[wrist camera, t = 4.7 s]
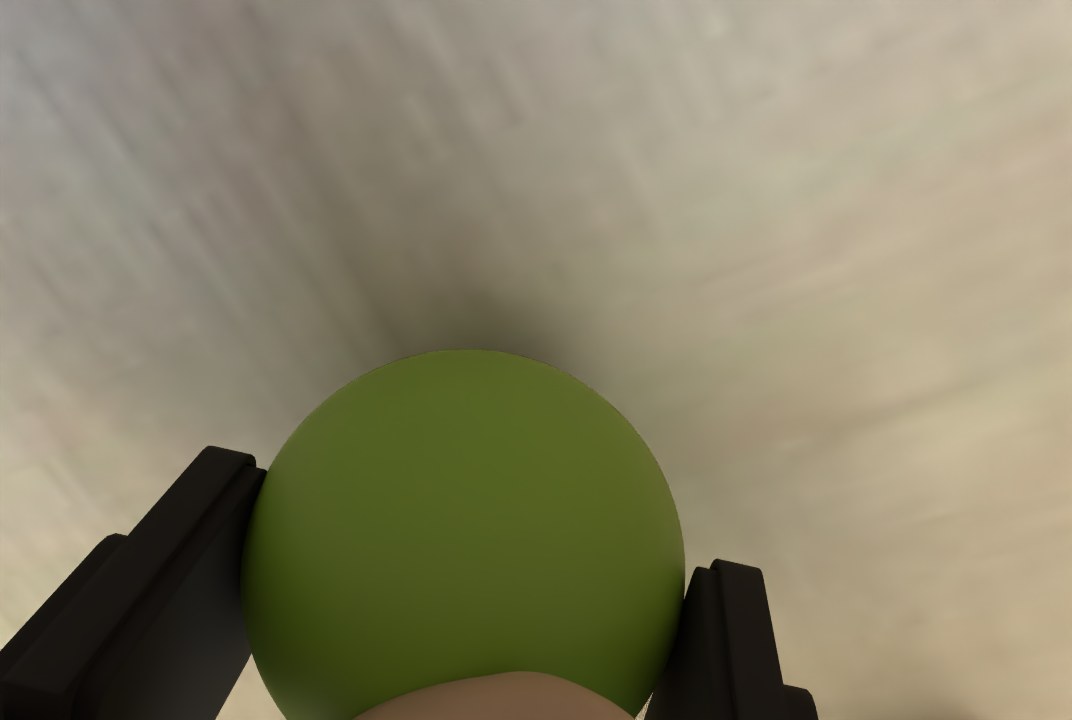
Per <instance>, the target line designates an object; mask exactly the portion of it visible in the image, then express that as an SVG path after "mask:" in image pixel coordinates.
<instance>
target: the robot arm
mask: <svg viewBox="0 0 1072 720" xmlns="http://www.w3.org/2000/svg"><path fill="white" fill-rule="evenodd" d="M266 474H267V471H266V470H265V469H261V468H256V460H255V457H254V456H253V455H251V454H247V453H242V452H238V451H233V450H229V449H224V448H220V447H215V446H207V447H206V448H205V449H203V450H202V451H201V453H200V454H199V455H198V456H197V457H196V458H195V459H194V461H193V462H192V463H191V464H190V465H189V466H188V467H187V469H186V470H185V471H184V472H183V473H182V474H181V475H180V476H179V478H178V479H177V480H176V481H175V482H174V483H173V484H172V486H171V487H170V488H169V489H168V490H167V491H166V492H165V494H164V495H163V496H162V497H161V498H160V499H159V500H158V502H157V503H156V504H155V505H154V506H153V507H152V508H151V510H150V511H149V512H148V513H147V514H146V515H145V516H144V518H143V519H142V520H141V521H140V522H139V523H138V524H137V525H136V527H135V528H134V529H133V530H132V531H131V532H130V533H129V535H128V536H126V535H122V534H117V533H115V534H112V535H109V536H107V537H106V538H105V539H103V540H102V541H101V542H100V543H99V544H98V545H97V546H96V547H95V548H94V549H93V550H92V551H91V552H90V553H89V555H88V556H87V557H86V558H85V559H84V560H83V561H82V562H81V563H80V564H79V566H78V567H77V568H76V569H75V570H74V571H73V572H72V573H71V574H70V575H69V576H68V578H67V579H66V580H65V581H64V582H63V583H62V584H61V585H60V586H59V587H58V588H57V590H56V591H55V592H54V593H53V594H52V595H51V596H50V597H49V598H48V599H47V600H46V602H45V603H44V604H43V605H42V606H41V607H40V608H39V609H38V610H37V611H36V613H35V614H34V615H33V616H32V617H31V618H30V619H29V620H28V621H27V622H26V623H25V625H24V626H23V627H22V628H21V629H20V630H19V631H18V632H17V633H16V634H15V635H14V637H13V638H12V639H11V640H10V641H9V642H8V643H7V644H6V645H5V646H4V648H3V649H2V650H1V651H0V720H215V719H216V717H217V715H218V714H219V712H220V710H221V708H222V706H223V705H224V703H225V701H226V699H227V697H228V696H229V694H230V692H231V690H232V688H233V687H234V685H235V683H236V681H237V679H238V678H239V676H240V674H241V672H242V670H243V669H244V667H245V665H246V663H247V661H248V659H249V657H250V655H251V653H252V652H251V649H250V645H249V642H248V638H247V634H246V630H245V625H244V619H243V613H242V604H241V587H240V573H241V559H242V551H243V546H244V540H245V536H246V531H247V527H248V523H249V519H250V516H251V512H252V509H253V506H254V503H255V500H256V497H257V495H258V492H259V490H260V487H261V485H262V482H263V480H264V478H265V476H266ZM644 720H818V715H817V711H816V706H815V703H814V700H813V697H812V695H811V694H810V693H809V691H808V690H807V689H803V688H798V687H794V686H789V685H785V684H783V680H782V675H781V670H780V664H779V659H778V654H777V648H776V643H775V638H774V632H773V627H772V622H771V616H770V611H769V606H768V600H767V595H766V590H765V584H764V579H763V575H762V571H761V570H760V569H759V568H756V567H752V566H747V565H743V564H738V563H734V562H730V561H725V560H721V559H715V560H714V561H713V562H712V564H711V566H710V569H707V568H703V567H696V569H695V570H694V572H693V575H692V578H691V581H690V584H689V587H688V590H687V593H686V596H685V599H684V602H683V609H682V615H681V620H680V625H679V629H678V633H677V636H676V640H675V643H674V646H673V649H672V652H671V655H670V657H669V660H668V663H667V665H666V667H665V669H664V672H663V674H662V676H661V678H660V680H659V682H658V684H657V685H656V687H655V689H654V691H653V694H652V697H651V700H650V703H649V706H648V709H647V712H646V715H645V718H644Z"/></svg>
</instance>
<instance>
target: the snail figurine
mask: <svg viewBox="0 0 1072 720" xmlns="http://www.w3.org/2000/svg"><path fill="white" fill-rule="evenodd" d="M240 587H241V604H242V613H243V619H244V625H245V630H246V634H247V638H248V642H249V645H250V649H251V652H252V655H253V658H254V661H255V663H256V666H257V669H258V671H259V673H260V675H261V678H262V680H263V682H264V684H265V686H266V688H267V690H268V692H269V693H270V695H271V697H272V698H273V700H274V702H275V703H276V705H277V707H278V708H279V710H280V711H281V712H282V714H283V715H284V717H285V718H286V719H287V720H635V717H636V716H637V715H638V713H639V712H640V711H641V709H642V708H643V707H644V705H645V704H646V702H647V701H648V699H649V698H650V696H651V694H652V693H653V691H654V689H655V687H656V685H657V684H658V682H659V680H660V678H661V676H662V674H663V672H664V669H665V667H666V665H667V663H668V660H669V657H670V655H671V652H672V649H673V646H674V643H675V640H676V636H677V633H678V629H679V625H680V620H681V615H682V609H683V602H684V592H685V554H684V544H683V537H682V531H681V526H680V521H679V517H678V513H677V510H676V506H675V503H674V500H673V497H672V494H671V492H670V489H669V486H668V484H667V482H666V479H665V477H664V475H663V473H662V471H661V469H660V467H659V465H658V463H657V461H656V460H655V458H654V456H653V455H652V453H651V451H650V450H649V448H648V447H647V445H646V444H645V442H644V441H643V439H642V438H641V437H640V435H639V434H638V433H637V431H636V430H635V429H634V428H633V427H632V425H631V424H630V423H629V422H628V421H627V420H626V419H625V418H624V416H623V415H622V414H621V413H620V412H619V411H618V410H617V409H615V408H614V407H613V406H612V405H611V404H610V403H609V402H608V401H607V400H605V399H604V398H603V397H602V396H601V395H599V394H598V393H597V392H595V391H594V390H593V389H591V388H590V387H588V386H587V385H585V384H584V383H582V382H580V381H579V380H577V379H576V378H574V377H572V376H570V375H568V374H567V373H565V372H562V371H560V370H558V369H556V368H554V367H552V366H549V365H547V364H544V363H542V362H539V361H536V360H533V359H530V358H526V357H523V356H519V355H515V354H510V353H505V352H498V351H491V350H478V349H456V350H443V351H435V352H429V353H424V354H419V355H415V356H411V357H407V358H404V359H401V360H398V361H395V362H392V363H389V364H387V365H384V366H381V367H379V368H377V369H375V370H373V371H371V372H369V373H367V374H365V375H363V376H361V377H359V378H357V379H356V380H354V381H352V382H351V383H349V384H347V385H346V386H344V387H343V388H341V389H340V390H338V391H337V392H336V393H334V394H333V395H332V396H330V397H329V398H328V399H327V400H325V401H324V402H323V403H322V404H321V405H320V406H318V407H317V408H316V409H315V410H314V411H313V412H312V413H311V414H310V415H309V416H308V417H307V418H306V419H305V420H304V421H303V422H302V423H301V424H300V425H299V427H298V428H297V429H296V430H295V431H294V432H293V434H292V435H291V436H290V438H289V439H288V440H287V441H286V443H285V444H284V446H283V447H282V449H281V450H280V452H279V453H278V455H277V456H276V458H275V459H274V461H273V463H272V464H271V466H270V468H269V470H268V472H267V474H266V476H265V478H264V480H263V482H262V485H261V487H260V490H259V492H258V495H257V497H256V500H255V503H254V506H253V509H252V512H251V516H250V519H249V523H248V527H247V531H246V536H245V540H244V546H243V551H242V559H241V573H240Z"/></svg>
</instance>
